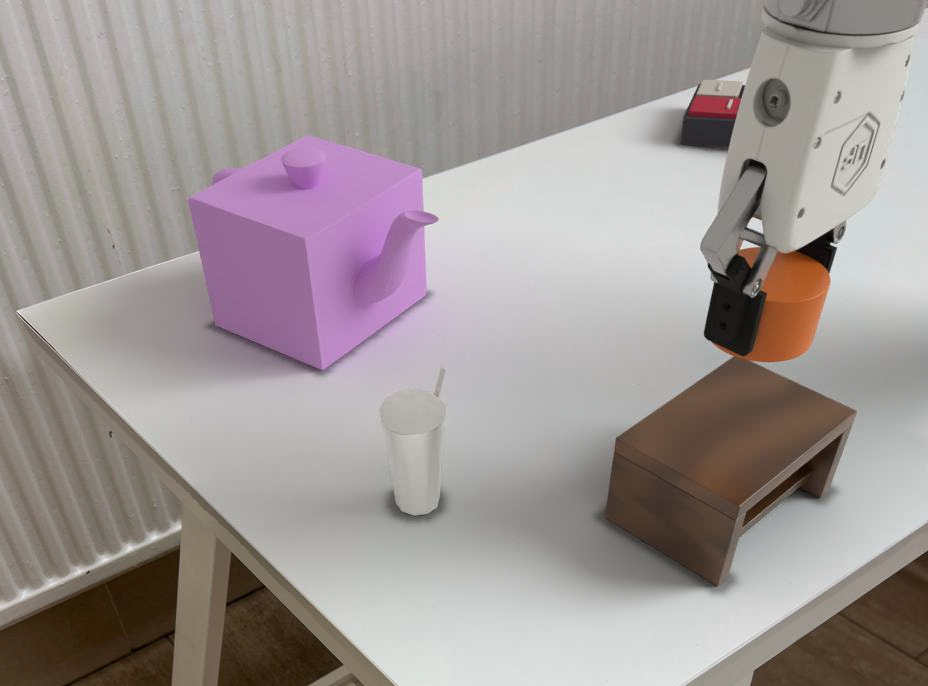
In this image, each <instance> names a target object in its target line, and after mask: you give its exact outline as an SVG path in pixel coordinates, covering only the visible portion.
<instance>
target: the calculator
mask: <svg viewBox="0 0 928 686" xmlns="http://www.w3.org/2000/svg"><path fill="white" fill-rule="evenodd" d="M743 82H744V81H742V80H722V79H721V80H720V79H703V80H702V81H701V83H698V84H697V87H696V89H695V90H694V93H693V96H692V98H691V100H690V102H689V104H688V106H687V108H686V111H685V113H684V114H683V118H682V125H681V134H680V144H682V145H687V146H702V147H703V146H705V147H720V148H721V147H722V148H729V145H730V141H731V136H732V132H733V128H734V124H735V121H736V117H737V113H738V109H739V105H740V102H741V98H742V95H743V91H744V88H745V84H743Z"/></svg>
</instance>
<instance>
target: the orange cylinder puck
mask: <svg viewBox="0 0 928 686" xmlns="http://www.w3.org/2000/svg"><path fill="white" fill-rule="evenodd" d="M760 248H761V247H760V246H753V247H747V248H742V249H741V248H740V250H739V252H738V254H739V255H740V256H742V257H744V258H745V259H746V261H747V262H748V264H749V266H750V267H751V268H752V266H753V264H754V262H755V259H756V257H757V255H758V252H759V250H760ZM831 283H832V282H831V276H830V274H829V273H828V271H827V270H826V268H825V267H824V266H823V265H822V264H820V263H819V262H818V261H816V260H815V259H813V258H811V257H809V256H807V255H804V254H802V253H799V252H796V251H793V252H790V253H781V252H779V251H778V253H777V255H776V257H775V259H774V261H773V264H772V266H771V268H770V270H769V272H768V275H767V277H766V279H765V281H764V283H763V286H762V288H761V291H763V292H766V293H767V296H766V300H765V304H764V308H763V312H762V316H761V320H760V324H759V328H758V332H757V335H756V339H755V343H754V347H753V350H752V352H751V353H749V354H748V355H746V356H741V355H738V354H736V353H734V352H732V351H730V350H728V349H726V348H724V347H721V346H719V345H717V344H715V343H713V342H711V343H712V345H713V346H715V347H716V348H717V349H718V350H721V352H724V353H726V354H728V355H730V356H732V357H734V356H735V357H738V358H741V359H745V360H749V361H751V362H755V363H780V362H786V361H790V360H795V359H796V358H798V357H801V356H802V355H804V354H805V353H806V352H808V350H810V348H811V347H812V344H813V342H814V338H815V336H816V332H817V329H818V326H819V322H820V318H821V316H822V312H823V310H824V306H825V302H826V299H827V296H828V293H829V291H830V287H831Z"/></svg>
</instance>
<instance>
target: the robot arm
mask: <svg viewBox="0 0 928 686" xmlns="http://www.w3.org/2000/svg"><path fill="white" fill-rule="evenodd" d="M927 3H928V0H763V6H762V10H761V16H760V20H761V22H762V23H763V25H764V28H763V29H762V31H761V34H760V37H759V41H758V43H757V47H756V49H755V51H754V52H755V53H754V55H753V58H752V62H751V65H750V68H749V70H748V71H749V72H748V76H747V78H746V81H745V84H744V85H745V88H744V91H743V95H742V98H741V102H740V105H739V109H738V113H737V117H736V121H735V124H734V128H733V132H732V136H731V141H730V145H729V147H728V150H727V153H726V154H727V155H726V158H725V163H724V167H723V173H722V177H721V183H720V188H719V194H718V200H717V201H718V202H717V210H716V211H717V212H716V216H715V218H714V220H713V221H712V222H711V224H710V226H709V227H708V229H707V231H706V232H705V234H704V235H703V237H702V239H701V241H700V246H699V249H700V252H701V254H702V256H703V257H704V259H705V260H706V263H707V268H708V270H709V271H710V278H709V279H710V281H712V282H713V286H712V289H711V296H710V300H709V304H708V310H707V315H706V320H705V324H704V329H703V336H704V339H706V340H707V341H709V342H711V343H712V342H713V343H715V344H717V345H719V346H721V347H724V348H726V349H728V350H730V351H732V352H734V353H736V354H738V355H741V356H746V355H748V354H749V353H751V352H752V350H753V347H754V343H755V339H756V335H757V332H758V328H759V324H760V320H761V316H762V312H763V308H764V304H765V300H766V296H767V293H766V292H763V291H761V288H762V286H763V283H764V281H765V279H766V277H767V275H768V272H769V270H770V268H771V266H772V264H773V261H774V259H775V257H776V255H777V253H778V251H779V252H781V253H790V252H793V251H796V252H799V253H802V254H804V255H807V256H809V257H811V258H813V259H815V260H816V261H818V262H819V263H820V264H822V265H823V266H824V267H825V268H826V270H827V271H828V273H829V275H830V273H831V270H832V267H833V263H834V260H835V256H836V254H837V250H838V247H837V246H835V245H837V244H839V243H840V242H841V241H842V240H843V237H844V236H845V234H846V230H847V221H848V220H849V219H850V218H851V217H853V216H855V215H857V213H859V212H861V211H862V210H863V209H864V208H865V207H867V206H868V205H869V204H870V203H871V201H872V200H873V199H874V198H875V196H876V195H877V192H878V190H879V187H880V184H881V180H882V176H883V174H884V170H885V166H886V163H887V160H888V155H889V153H890V149H891V145H892V141H893V138H894V134H895V130H896V128H897V127H896V126H897V123H898V120H899V115H900V111H901V107H902V105H903V100H904V96H905V93H906V92H905V91H906V87H907V83H908V79H909V74H910V70H911V67H912V66H911V65H912V61H913V54H914V49H915V44H916V43H915V42H916V37H917V33H918V32H919V29H920V26H921V23H922V20H923V16H924V13H925V10H926V7H927ZM752 219H756V220H759V221H761V225H762V232H760V231H758V230H755V229H753V228H750V227H748V225H749V223H750V221H751V220H752ZM744 241H745V242H748V243H750V244H753V245H755V246H757V247H761V248H760V250H759V252H758V255H757V257H756V259H755V262H754V264H753V266H752V268H751V267H750V266H749V264H748V262H747V261H746V259H745V258H744V257H742V256H740V255H739V254H738V252H739V250H741V248H742V245H743V243H744ZM832 244H833V245H832ZM713 343H712V344H713Z"/></svg>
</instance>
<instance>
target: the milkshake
mask: <svg viewBox="0 0 928 686" xmlns="http://www.w3.org/2000/svg"><path fill="white" fill-rule="evenodd" d="M446 373H447V369H445V368H444V367H440V370H439V373H438V378H437V381H436V385H435V388H434V392H430V391H427V390H424V389H421V388H407V389H403V390H398V391H397V392H395V393H393V394H392V395H390V396H388V397H387V398H386V399H384V400H383V402H381V404H380V407H379V419H380V425H381V428H382V433H383V438H384V442H385V443H384V444H385V448H386V454H387V459H388V465H389V472H390V477H391V482H392V483H391V484H392V490H393V494H394V500H395V504H396V505H397V508H399V509H400V511H401V512H402V513H405V514H409V515H411V516H413V517H415V516H423V515H428V514H430V513H432V512H433V511H434V510H436V509H437V508H438V506H439V502H440V498H441V483H442V463H443V448H444V438H445V429H446V419H447V407H446V404H445V402H444V401H443V400H442V399H441V398H440V394H441V390H442V386H443V384H444V379H445V376H446Z"/></svg>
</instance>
